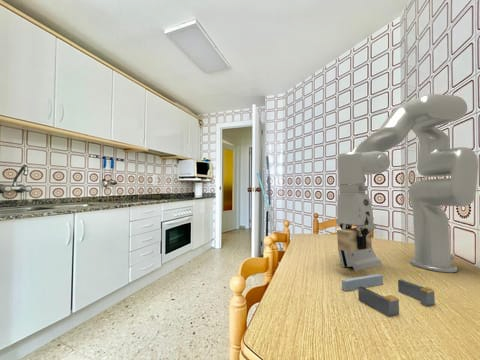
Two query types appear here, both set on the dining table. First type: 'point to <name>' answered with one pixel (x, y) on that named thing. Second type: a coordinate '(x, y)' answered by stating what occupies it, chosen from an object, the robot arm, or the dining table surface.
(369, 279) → the plank
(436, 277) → the dining table surface
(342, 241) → the brown box
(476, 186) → the robot arm
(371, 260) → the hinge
